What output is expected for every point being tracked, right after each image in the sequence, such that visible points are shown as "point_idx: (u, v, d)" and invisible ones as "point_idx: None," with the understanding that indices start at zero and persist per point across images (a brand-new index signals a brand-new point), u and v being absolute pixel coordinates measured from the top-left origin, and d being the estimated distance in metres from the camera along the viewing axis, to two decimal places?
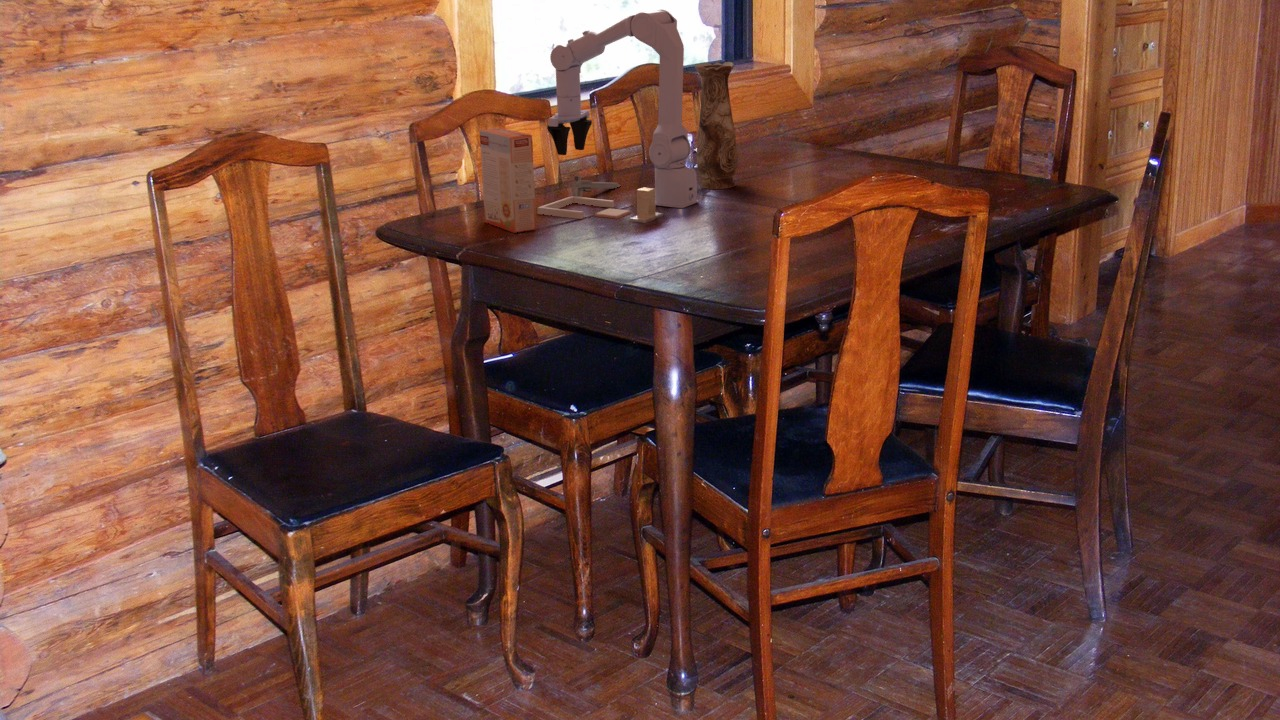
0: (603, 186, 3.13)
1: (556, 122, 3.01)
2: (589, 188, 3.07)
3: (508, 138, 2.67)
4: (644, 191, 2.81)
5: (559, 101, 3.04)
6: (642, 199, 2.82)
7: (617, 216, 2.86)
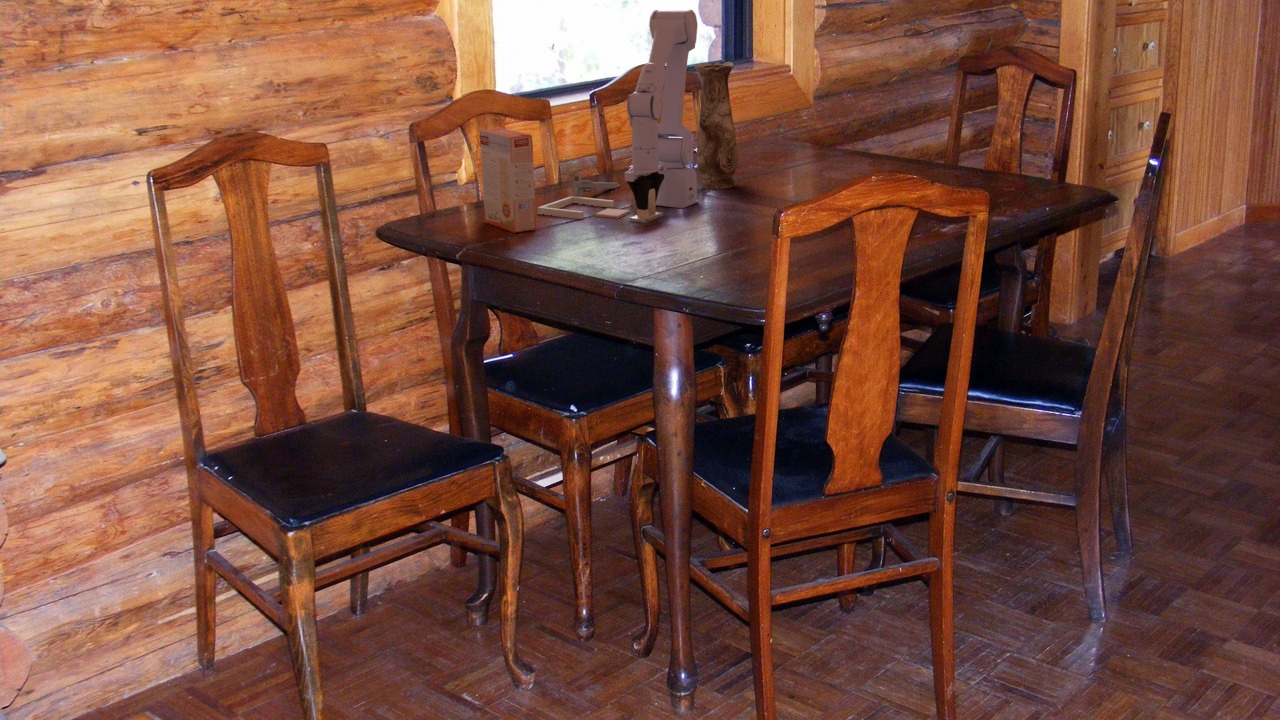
0: (603, 186, 3.13)
1: (632, 177, 2.75)
2: (589, 188, 3.07)
3: (508, 138, 2.67)
4: None
5: (635, 153, 2.78)
6: None
7: (618, 216, 2.86)
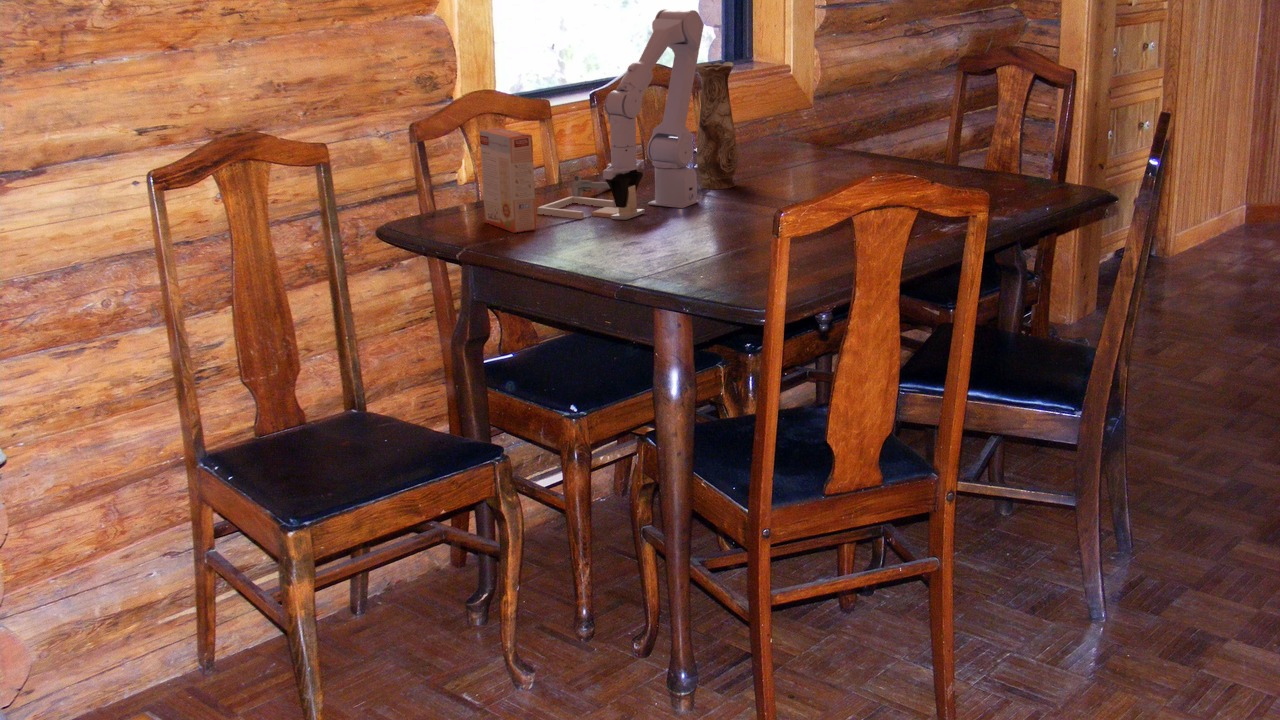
0: (603, 186, 3.13)
1: (611, 175, 2.78)
2: (589, 188, 3.07)
3: (508, 138, 2.67)
4: None
5: (613, 151, 2.81)
6: None
7: None
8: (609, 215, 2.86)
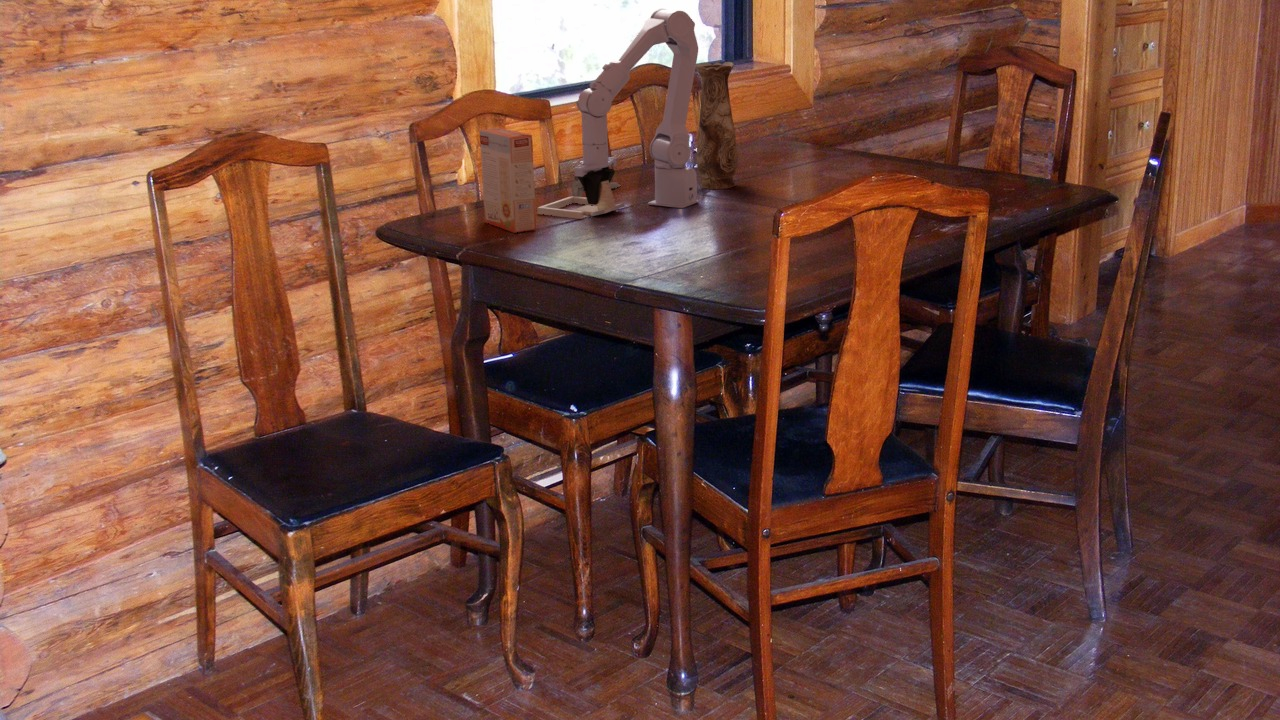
0: None
1: (582, 172, 2.82)
2: None
3: (508, 138, 2.67)
4: None
5: (585, 149, 2.85)
6: None
7: None
8: (588, 213, 2.89)
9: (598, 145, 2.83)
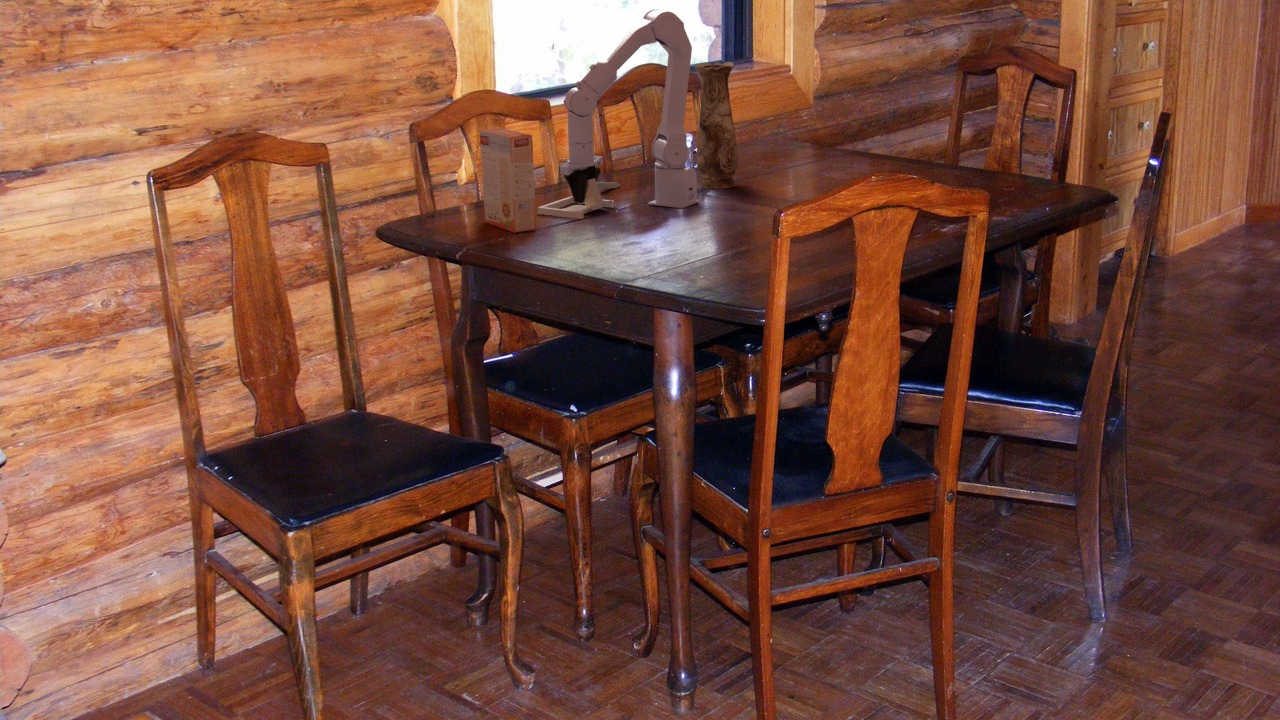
0: (603, 186, 3.13)
1: (568, 170, 2.84)
2: None
3: (508, 138, 2.67)
4: None
5: (571, 148, 2.87)
6: None
7: None
8: None
9: (584, 144, 2.85)
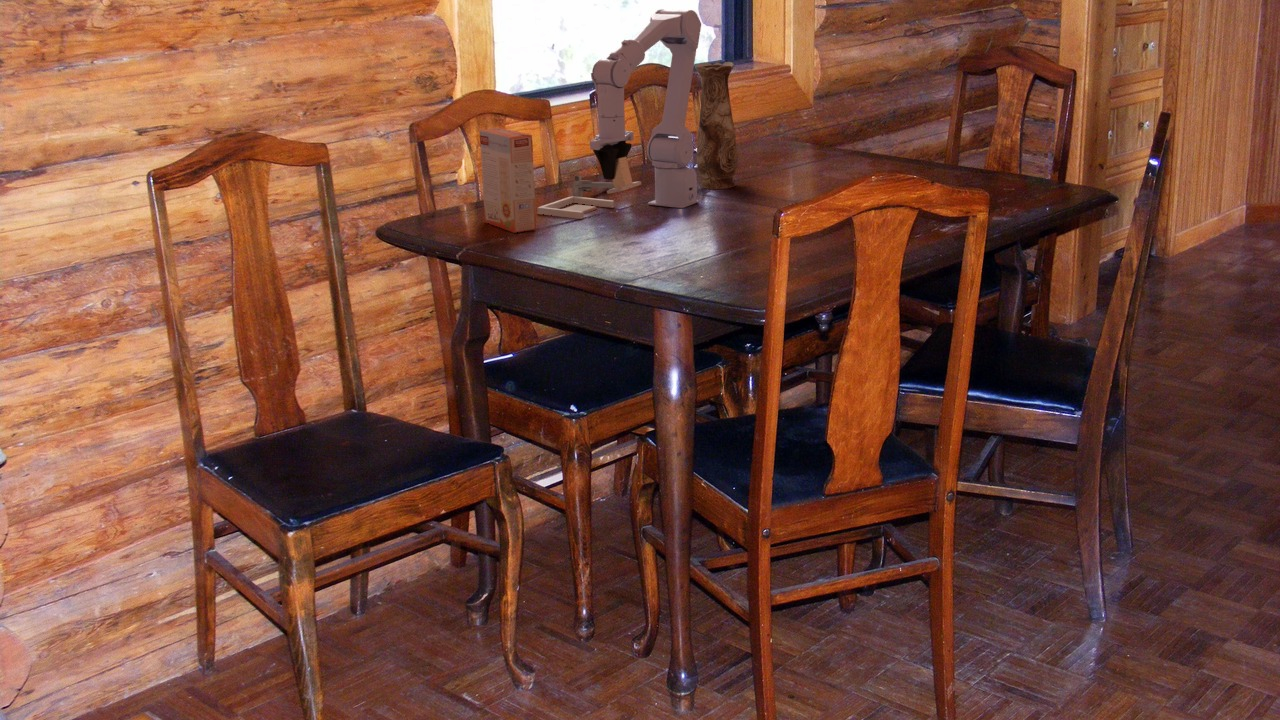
0: (603, 186, 3.13)
1: (598, 145, 2.72)
2: (589, 188, 3.08)
3: (508, 138, 2.67)
4: (615, 160, 2.77)
5: (601, 122, 2.75)
6: None
7: None
8: None
9: (615, 118, 2.73)
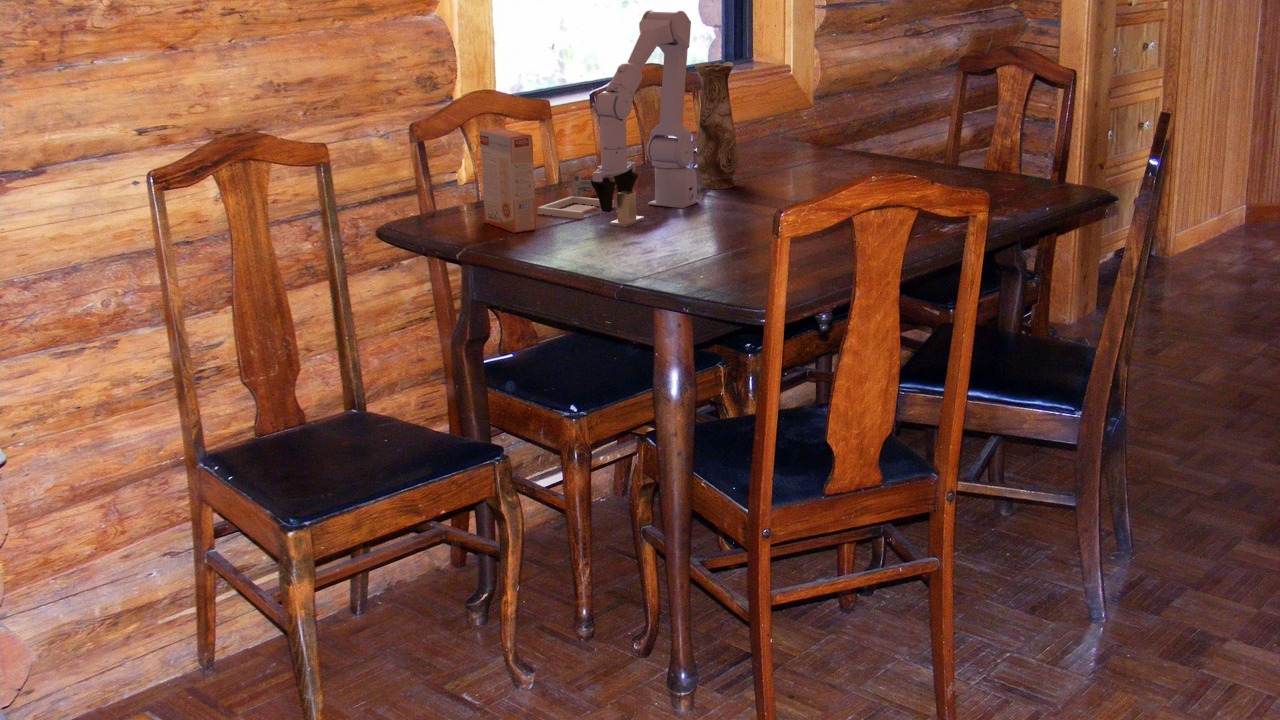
0: None
1: (601, 177, 2.73)
2: (589, 188, 3.08)
3: (508, 138, 2.67)
4: (624, 194, 2.78)
5: (603, 153, 2.76)
6: (622, 202, 2.79)
7: None
8: None
9: (617, 149, 2.75)
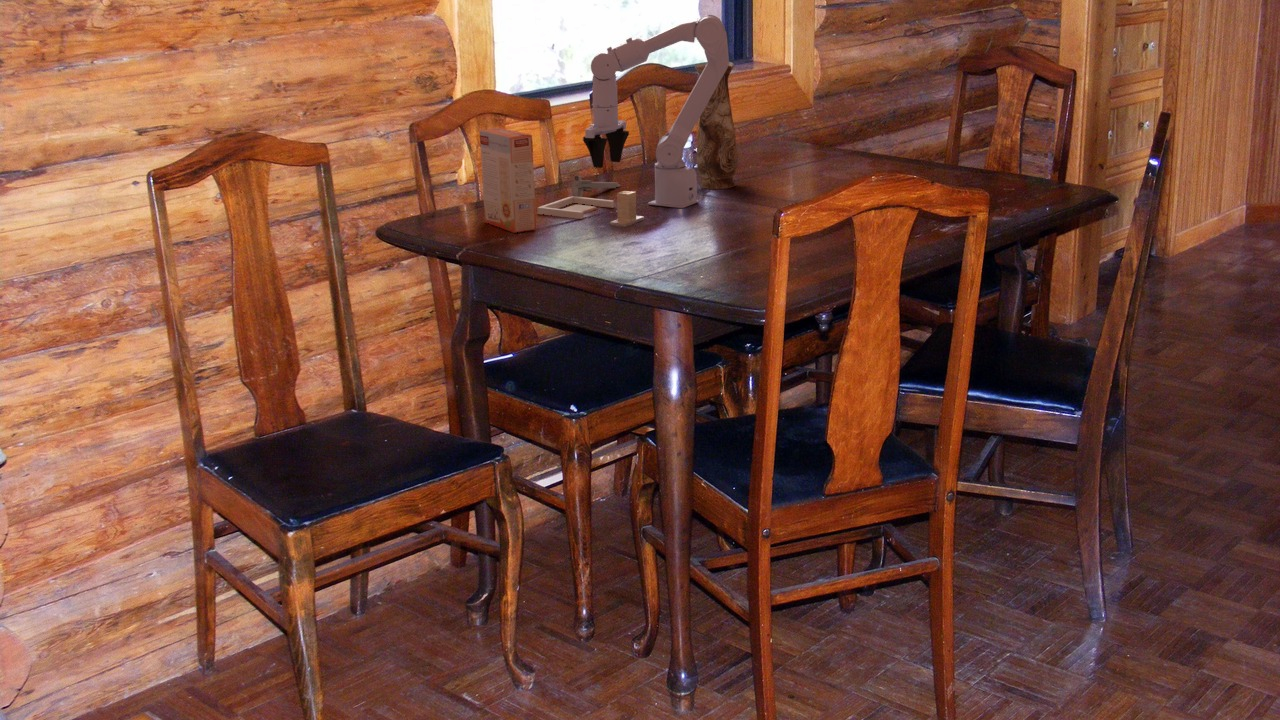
0: (603, 186, 3.13)
1: (593, 133, 2.88)
2: (589, 188, 3.08)
3: (508, 138, 2.67)
4: (624, 194, 2.78)
5: (595, 111, 2.91)
6: (622, 202, 2.79)
7: None
8: None
9: (608, 107, 2.90)
